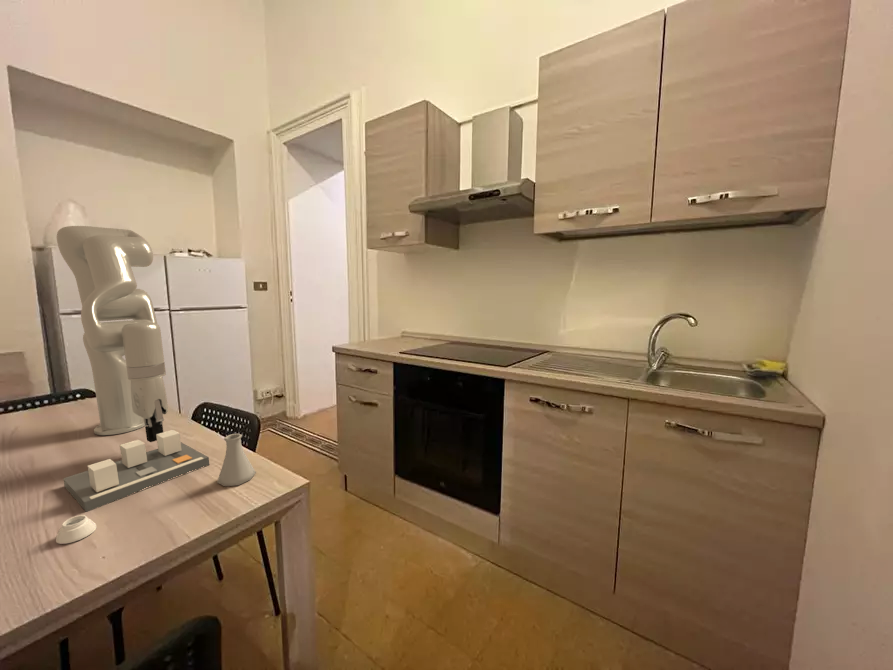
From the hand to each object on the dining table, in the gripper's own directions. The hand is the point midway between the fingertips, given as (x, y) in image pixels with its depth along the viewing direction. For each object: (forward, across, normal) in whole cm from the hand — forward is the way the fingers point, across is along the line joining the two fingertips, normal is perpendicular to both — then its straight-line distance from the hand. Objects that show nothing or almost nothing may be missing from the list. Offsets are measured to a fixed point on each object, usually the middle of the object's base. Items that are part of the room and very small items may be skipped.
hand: (155, 439), depth 97 cm
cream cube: (+1, +9, 0) cm, 9 cm away
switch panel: (+3, +12, -7) cm, 14 cm away
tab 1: (+1, +16, -14) cm, 21 cm away
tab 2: (+1, +9, -7) cm, 11 cm away
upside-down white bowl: (+4, +27, -21) cm, 35 cm away
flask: (+4, +32, +4) cm, 32 cm away
